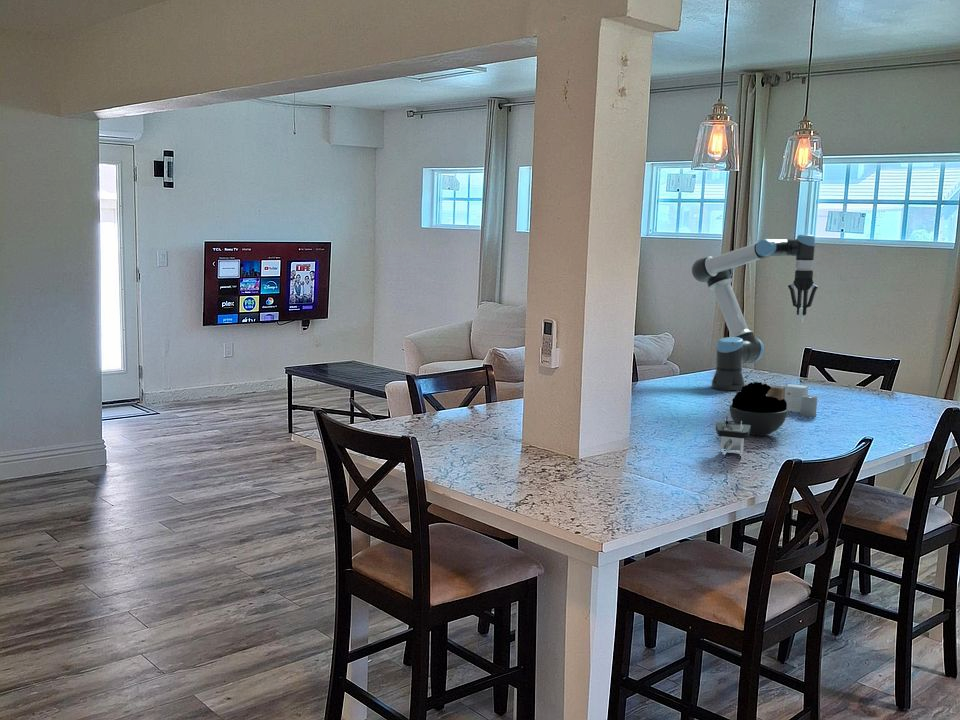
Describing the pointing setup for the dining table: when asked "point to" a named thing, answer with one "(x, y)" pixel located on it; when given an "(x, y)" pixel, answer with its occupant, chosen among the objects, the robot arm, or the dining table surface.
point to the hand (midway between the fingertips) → (800, 322)
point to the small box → (794, 396)
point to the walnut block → (777, 392)
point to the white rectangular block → (808, 406)
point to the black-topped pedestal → (732, 434)
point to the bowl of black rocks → (758, 409)
